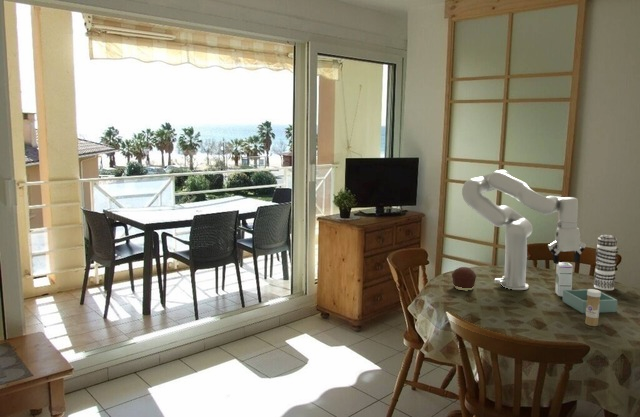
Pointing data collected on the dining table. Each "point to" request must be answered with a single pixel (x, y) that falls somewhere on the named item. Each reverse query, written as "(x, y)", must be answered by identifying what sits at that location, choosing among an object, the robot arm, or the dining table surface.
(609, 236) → the decorative candle
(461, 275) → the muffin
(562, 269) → the syrup box
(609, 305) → the tote
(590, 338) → the dining table surface
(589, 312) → the sprinkles bottle
